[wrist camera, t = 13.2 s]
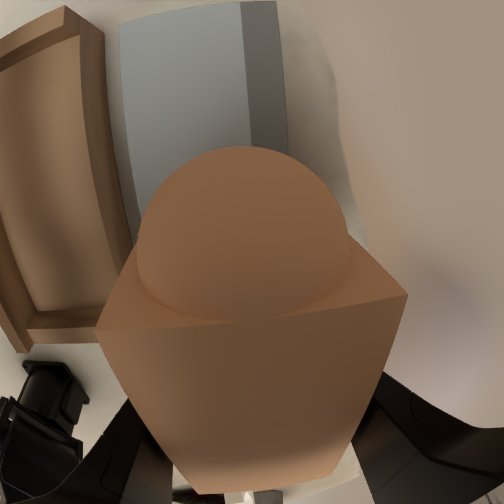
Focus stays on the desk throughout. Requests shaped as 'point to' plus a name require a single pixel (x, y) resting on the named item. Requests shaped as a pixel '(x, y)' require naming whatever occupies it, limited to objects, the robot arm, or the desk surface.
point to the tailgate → (200, 86)
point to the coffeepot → (268, 497)
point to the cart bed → (57, 183)
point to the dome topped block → (249, 322)
